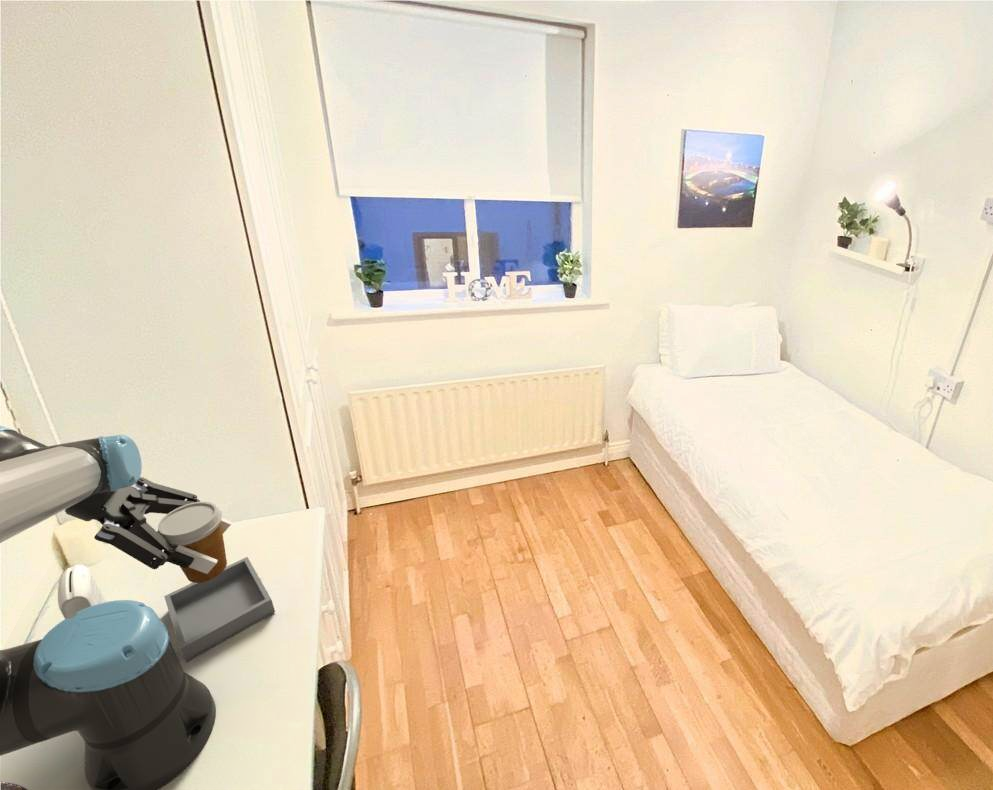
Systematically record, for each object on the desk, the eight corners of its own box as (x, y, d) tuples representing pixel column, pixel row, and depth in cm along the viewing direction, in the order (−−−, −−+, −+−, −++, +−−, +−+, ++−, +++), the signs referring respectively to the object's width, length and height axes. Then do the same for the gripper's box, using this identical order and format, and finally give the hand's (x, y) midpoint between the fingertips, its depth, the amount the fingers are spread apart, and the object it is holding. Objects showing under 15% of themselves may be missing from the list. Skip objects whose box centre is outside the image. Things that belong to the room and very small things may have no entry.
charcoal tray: (275, 612, 86) (271, 599, 84) (186, 662, 77) (180, 648, 75) (251, 569, 95) (247, 556, 94) (169, 609, 87) (164, 596, 85)
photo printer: (81, 615, 86) (54, 566, 80) (110, 603, 88) (85, 555, 83) (81, 654, 78) (50, 603, 73) (112, 640, 81) (85, 590, 76)
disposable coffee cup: (192, 552, 86) (173, 501, 81) (245, 548, 87) (229, 498, 82) (165, 593, 77) (141, 539, 72) (223, 588, 78) (204, 535, 73)
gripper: (101, 467, 81) (223, 521, 91) (21, 556, 61) (188, 610, 72) (125, 437, 80) (246, 495, 90) (52, 518, 60) (216, 579, 71)
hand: (220, 546), depth 81 cm, fingers closed on disposable coffee cup, 9 cm apart
